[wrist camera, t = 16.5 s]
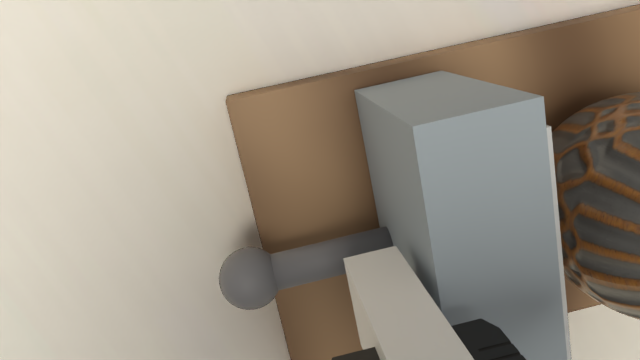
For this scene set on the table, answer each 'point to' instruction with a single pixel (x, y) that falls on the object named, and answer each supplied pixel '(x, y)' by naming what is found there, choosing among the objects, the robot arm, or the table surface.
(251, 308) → the jaw
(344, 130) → the vise base
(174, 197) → the table surface
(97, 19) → the table surface
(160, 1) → the table surface
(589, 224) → the vase
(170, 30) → the table surface
